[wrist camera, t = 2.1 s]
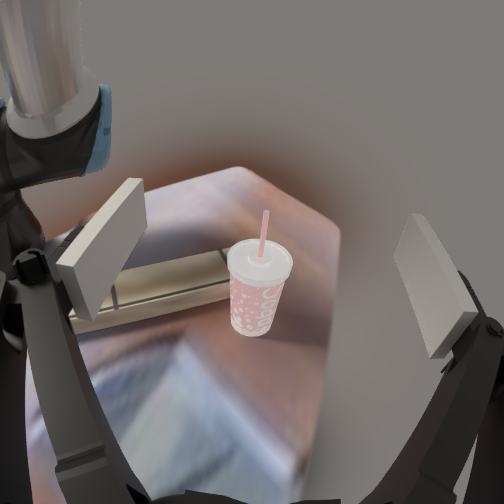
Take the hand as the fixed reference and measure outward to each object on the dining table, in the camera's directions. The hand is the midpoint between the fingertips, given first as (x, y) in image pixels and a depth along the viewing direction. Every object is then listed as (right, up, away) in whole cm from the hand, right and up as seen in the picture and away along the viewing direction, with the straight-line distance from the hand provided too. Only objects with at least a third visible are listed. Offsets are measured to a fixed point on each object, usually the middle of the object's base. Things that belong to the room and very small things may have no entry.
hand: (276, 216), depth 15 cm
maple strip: (-12, -7, +21) cm, 26 cm away
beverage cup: (-1, -9, +20) cm, 22 cm away
